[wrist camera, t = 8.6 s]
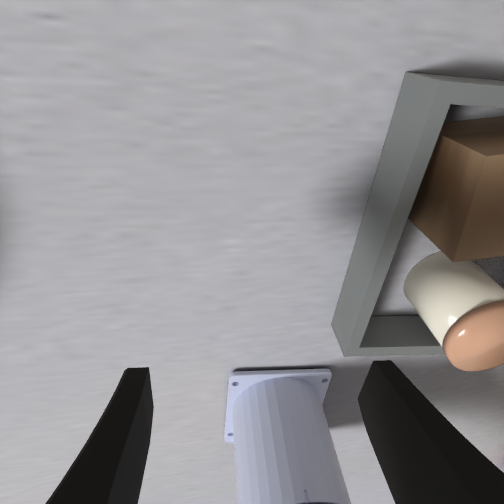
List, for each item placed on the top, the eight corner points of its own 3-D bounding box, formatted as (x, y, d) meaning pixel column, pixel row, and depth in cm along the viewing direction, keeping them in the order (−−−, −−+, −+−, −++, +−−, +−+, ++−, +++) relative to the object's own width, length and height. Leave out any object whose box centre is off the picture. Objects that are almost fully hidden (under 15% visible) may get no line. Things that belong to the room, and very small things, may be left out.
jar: (454, 305, 25) (509, 370, 20) (392, 305, 24) (435, 372, 19) (486, 250, 22) (558, 309, 18) (417, 247, 21) (474, 309, 17)
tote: (495, 322, 26) (523, 351, 24) (331, 324, 24) (344, 356, 22) (645, 93, 17) (712, 104, 15) (405, 71, 16) (439, 80, 13)
